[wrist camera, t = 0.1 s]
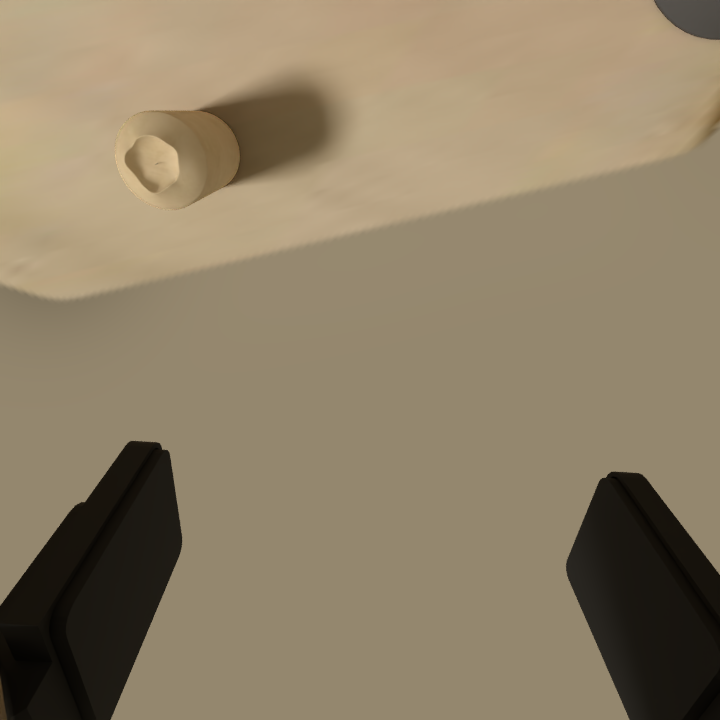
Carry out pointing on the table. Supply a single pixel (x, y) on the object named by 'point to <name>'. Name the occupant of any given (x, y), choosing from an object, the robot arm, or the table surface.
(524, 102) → the table surface
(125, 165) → the candle
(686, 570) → the robot arm
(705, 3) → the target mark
